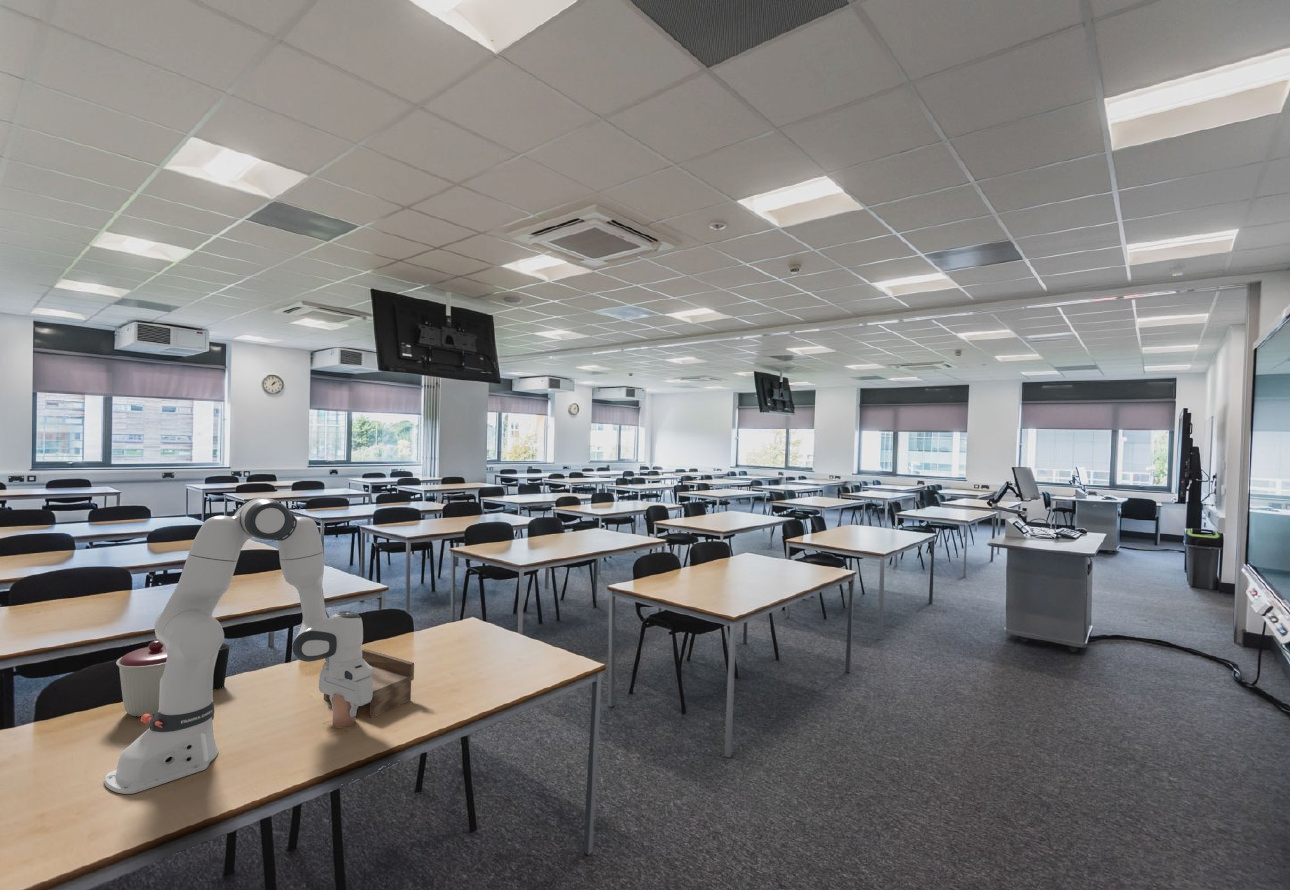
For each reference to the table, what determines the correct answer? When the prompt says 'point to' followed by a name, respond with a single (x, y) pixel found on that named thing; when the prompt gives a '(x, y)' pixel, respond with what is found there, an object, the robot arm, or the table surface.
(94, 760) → the table surface
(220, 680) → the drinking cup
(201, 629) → the robot arm
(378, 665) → the shelf
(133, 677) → the canister
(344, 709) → the pink pillar candle
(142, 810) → the table surface
